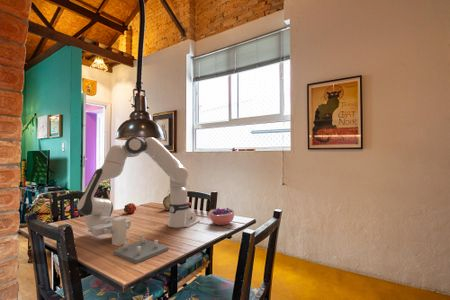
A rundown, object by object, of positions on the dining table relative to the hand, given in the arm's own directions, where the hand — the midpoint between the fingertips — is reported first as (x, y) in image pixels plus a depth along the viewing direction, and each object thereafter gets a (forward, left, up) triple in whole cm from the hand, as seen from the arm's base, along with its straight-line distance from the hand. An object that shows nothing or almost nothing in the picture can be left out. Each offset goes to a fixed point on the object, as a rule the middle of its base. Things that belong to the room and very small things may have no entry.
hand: (120, 229), depth 129 cm
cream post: (0, -1, -8) cm, 8 cm away
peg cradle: (0, +17, -8) cm, 19 cm away
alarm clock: (-67, -35, -8) cm, 76 cm away
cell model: (-60, +22, -8) cm, 64 cm away
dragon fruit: (-42, -52, -8) cm, 67 cm away
